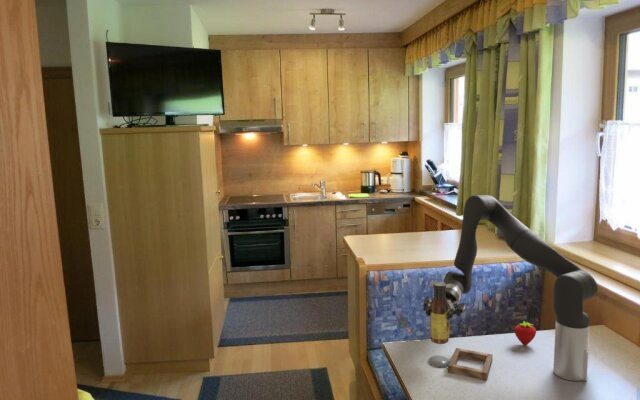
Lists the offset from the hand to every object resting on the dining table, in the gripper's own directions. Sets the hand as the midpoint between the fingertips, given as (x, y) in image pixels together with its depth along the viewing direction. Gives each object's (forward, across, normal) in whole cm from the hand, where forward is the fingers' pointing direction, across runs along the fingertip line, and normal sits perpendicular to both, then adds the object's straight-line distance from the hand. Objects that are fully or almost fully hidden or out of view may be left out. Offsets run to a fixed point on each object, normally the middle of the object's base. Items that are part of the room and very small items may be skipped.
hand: (438, 315), depth 153 cm
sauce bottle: (-2, 0, +10) cm, 11 cm away
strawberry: (-26, +25, +18) cm, 41 cm away
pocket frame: (-3, +10, +18) cm, 21 cm away
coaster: (-2, 0, +18) cm, 18 cm away
